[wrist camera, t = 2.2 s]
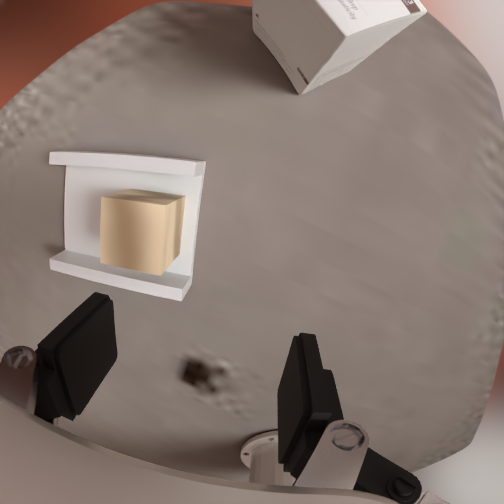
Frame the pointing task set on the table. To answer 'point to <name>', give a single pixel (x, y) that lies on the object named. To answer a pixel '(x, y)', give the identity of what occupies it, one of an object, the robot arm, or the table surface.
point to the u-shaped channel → (112, 181)
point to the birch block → (141, 230)
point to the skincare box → (328, 34)
